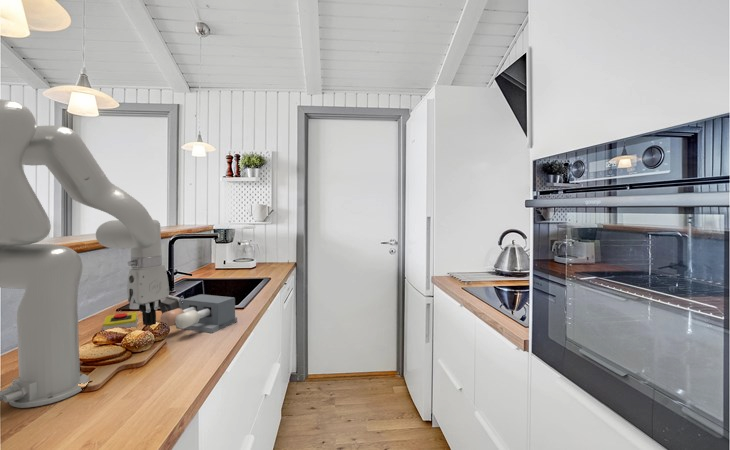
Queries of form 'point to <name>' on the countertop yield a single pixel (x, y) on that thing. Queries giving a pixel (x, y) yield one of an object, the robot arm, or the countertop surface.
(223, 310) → the block
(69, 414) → the countertop surface
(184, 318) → the knob cream
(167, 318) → the knob terracotta
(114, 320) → the emergency button
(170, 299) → the electrical switch
